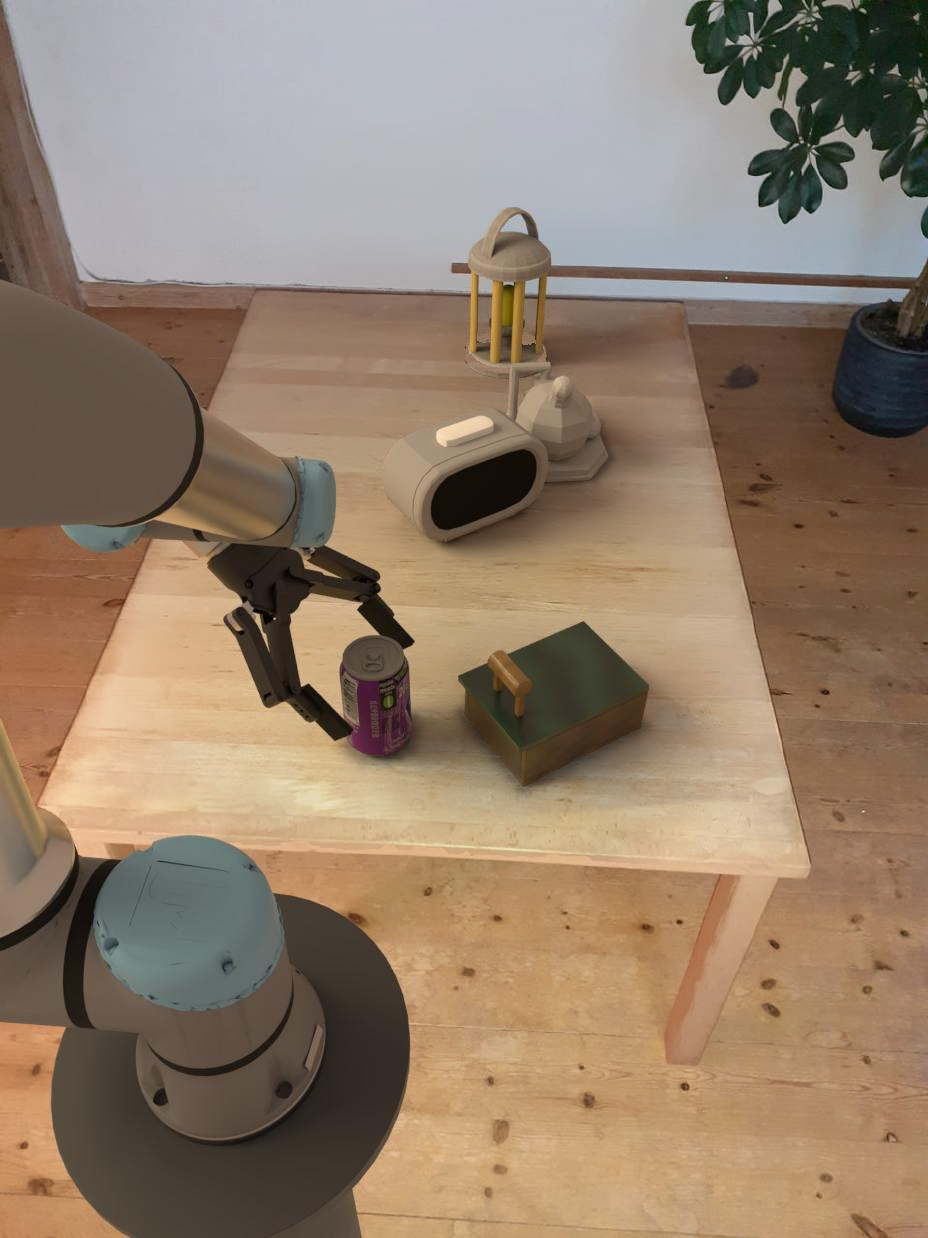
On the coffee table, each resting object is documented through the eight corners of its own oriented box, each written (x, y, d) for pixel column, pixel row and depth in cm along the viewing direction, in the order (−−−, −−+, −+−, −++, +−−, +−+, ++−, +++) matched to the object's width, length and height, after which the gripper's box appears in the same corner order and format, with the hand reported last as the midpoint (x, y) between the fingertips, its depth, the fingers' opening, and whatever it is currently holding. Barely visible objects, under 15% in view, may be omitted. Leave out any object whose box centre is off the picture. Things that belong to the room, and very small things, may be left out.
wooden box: (523, 786, 101) (526, 750, 97) (464, 714, 108) (465, 677, 104) (641, 727, 107) (648, 691, 103) (578, 662, 114) (582, 626, 110)
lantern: (504, 387, 160) (511, 234, 143) (446, 355, 168) (446, 206, 151) (564, 359, 167) (577, 210, 150) (506, 330, 175) (512, 185, 158)
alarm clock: (420, 557, 128) (418, 471, 119) (384, 520, 134) (379, 435, 125) (546, 507, 136) (554, 423, 127) (507, 474, 142) (511, 391, 133)
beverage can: (410, 760, 103) (407, 682, 95) (343, 760, 103) (334, 682, 95) (412, 710, 109) (410, 631, 100) (348, 709, 109) (340, 631, 100)
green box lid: (519, 754, 97) (522, 713, 93) (457, 680, 104) (458, 640, 100) (648, 690, 103) (657, 650, 99) (582, 625, 110) (588, 585, 106)
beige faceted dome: (615, 478, 142) (629, 383, 131) (510, 484, 140) (515, 387, 130) (588, 406, 156) (598, 315, 146) (492, 410, 155) (496, 318, 144)
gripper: (279, 484, 106) (407, 624, 112) (134, 629, 90) (293, 785, 96) (318, 454, 101) (450, 603, 107) (171, 602, 84) (337, 769, 90)
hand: (376, 689), depth 101 cm, fingers open, 13 cm apart
